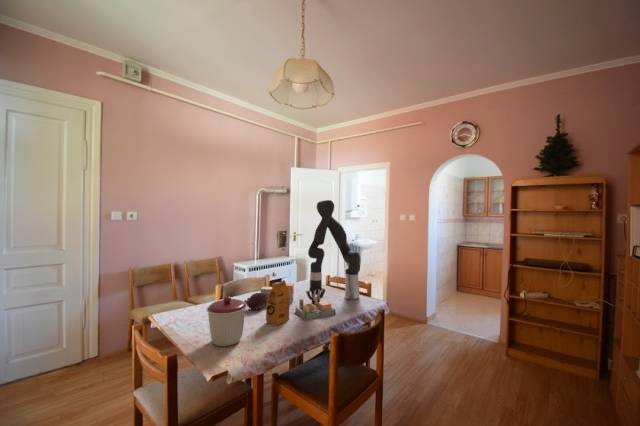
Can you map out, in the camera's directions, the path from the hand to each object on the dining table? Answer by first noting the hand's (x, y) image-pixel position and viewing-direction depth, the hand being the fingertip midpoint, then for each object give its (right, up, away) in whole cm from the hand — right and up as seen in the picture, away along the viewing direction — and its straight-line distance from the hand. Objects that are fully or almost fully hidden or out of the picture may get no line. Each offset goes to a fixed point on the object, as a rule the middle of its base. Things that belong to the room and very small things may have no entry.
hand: (315, 305), depth 177 cm
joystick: (+3, -1, -6) cm, 7 cm away
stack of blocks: (-26, -1, +9) cm, 28 cm away
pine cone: (-36, -1, -5) cm, 37 cm away
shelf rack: (0, -1, -11) cm, 11 cm away
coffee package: (-21, -1, -24) cm, 32 cm away
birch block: (-6, -1, -11) cm, 12 cm away
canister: (-41, -1, -48) cm, 63 cm away
